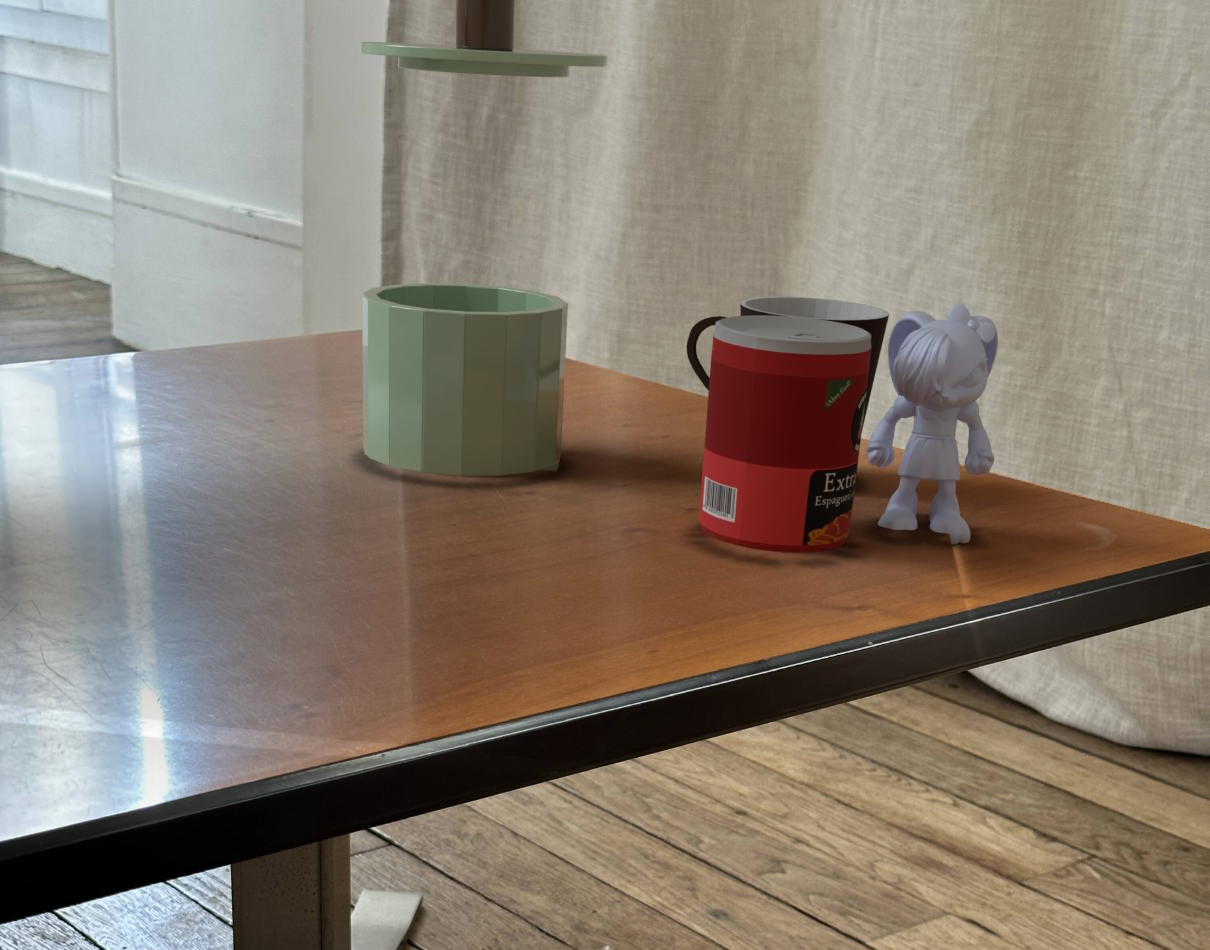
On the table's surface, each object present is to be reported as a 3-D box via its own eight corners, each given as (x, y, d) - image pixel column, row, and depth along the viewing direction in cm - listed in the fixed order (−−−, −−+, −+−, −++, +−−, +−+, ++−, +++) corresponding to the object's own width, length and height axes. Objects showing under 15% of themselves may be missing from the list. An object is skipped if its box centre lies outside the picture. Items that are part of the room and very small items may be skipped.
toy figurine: (858, 540, 91) (886, 308, 86) (857, 510, 97) (883, 292, 92) (989, 551, 91) (1025, 318, 86) (980, 521, 96) (1013, 301, 91)
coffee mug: (898, 488, 102) (920, 316, 98) (788, 502, 98) (806, 323, 94) (775, 446, 111) (790, 287, 107) (668, 457, 107) (679, 291, 102)
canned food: (834, 570, 86) (860, 346, 81) (680, 549, 88) (696, 329, 83) (859, 534, 92) (884, 325, 88) (715, 515, 94) (732, 309, 90)
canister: (342, 475, 98) (340, 304, 94) (390, 433, 108) (390, 277, 104) (542, 492, 97) (549, 320, 93) (571, 448, 107) (579, 292, 103)
